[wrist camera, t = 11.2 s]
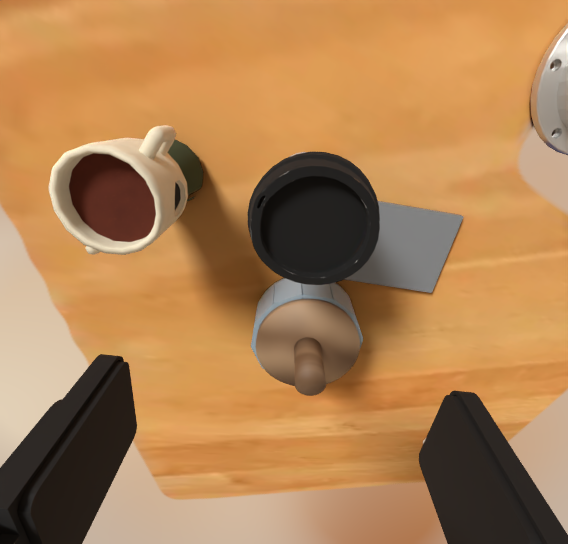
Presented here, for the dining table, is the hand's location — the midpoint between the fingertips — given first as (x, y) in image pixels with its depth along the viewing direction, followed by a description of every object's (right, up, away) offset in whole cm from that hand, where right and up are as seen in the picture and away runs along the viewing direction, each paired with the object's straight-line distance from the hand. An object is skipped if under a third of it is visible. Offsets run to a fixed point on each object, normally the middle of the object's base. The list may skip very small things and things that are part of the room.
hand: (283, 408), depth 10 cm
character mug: (-11, +14, +23) cm, 29 cm away
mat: (+12, +7, +25) cm, 29 cm away
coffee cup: (+2, +13, +23) cm, 26 cm away
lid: (+2, -3, +25) cm, 25 cm away
